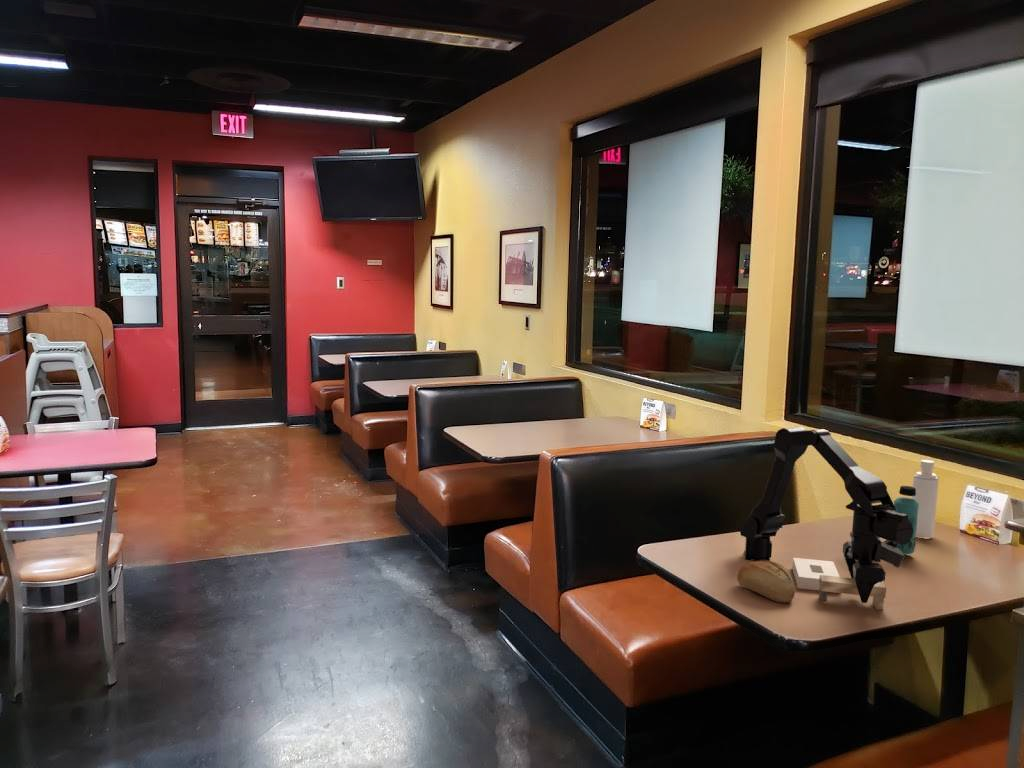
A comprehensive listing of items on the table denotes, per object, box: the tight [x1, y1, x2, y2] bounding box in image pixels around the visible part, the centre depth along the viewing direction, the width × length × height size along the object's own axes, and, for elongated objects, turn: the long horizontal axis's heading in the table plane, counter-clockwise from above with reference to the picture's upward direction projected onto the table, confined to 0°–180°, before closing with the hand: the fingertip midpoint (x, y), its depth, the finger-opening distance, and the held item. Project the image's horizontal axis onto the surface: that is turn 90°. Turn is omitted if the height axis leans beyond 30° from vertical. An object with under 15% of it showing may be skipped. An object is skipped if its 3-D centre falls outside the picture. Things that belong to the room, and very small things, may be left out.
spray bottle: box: [911, 459, 940, 538], centre depth 231 cm, size 7×7×25 cm
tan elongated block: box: [818, 575, 887, 610], centre depth 181 cm, size 14×4×6 cm, turn 75°
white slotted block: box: [791, 557, 841, 592], centre depth 195 cm, size 10×14×3 cm
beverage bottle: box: [893, 485, 919, 555], centre depth 213 cm, size 6×7×20 cm
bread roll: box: [736, 559, 796, 604], centre depth 186 cm, size 10×15×8 cm, turn 38°
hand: (860, 594), depth 181 cm, fingers open, 9 cm apart
